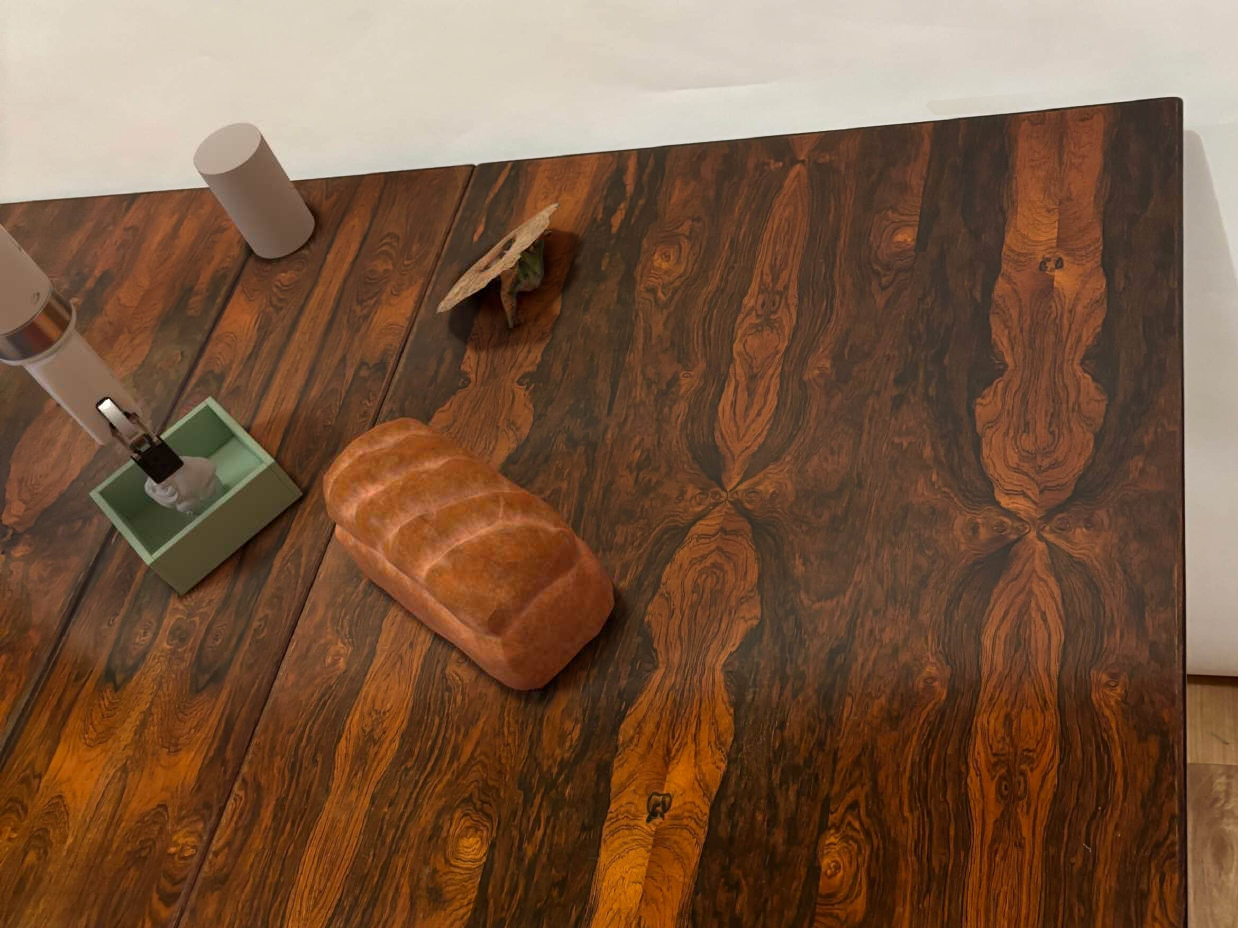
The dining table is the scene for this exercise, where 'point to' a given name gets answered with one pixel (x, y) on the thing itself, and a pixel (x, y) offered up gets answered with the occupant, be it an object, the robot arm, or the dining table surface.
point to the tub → (208, 539)
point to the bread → (467, 551)
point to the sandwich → (507, 266)
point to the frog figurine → (188, 487)
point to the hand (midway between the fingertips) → (147, 447)
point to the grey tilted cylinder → (254, 190)
